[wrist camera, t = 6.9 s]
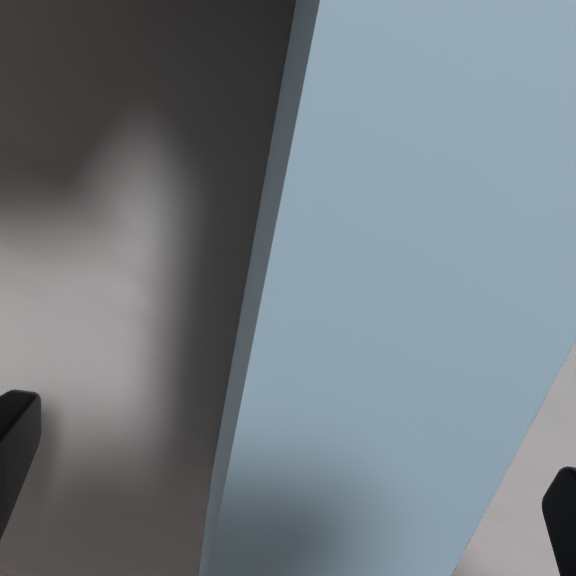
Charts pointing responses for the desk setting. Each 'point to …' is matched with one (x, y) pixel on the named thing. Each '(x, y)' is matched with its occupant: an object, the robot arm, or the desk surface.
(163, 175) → the desk surface
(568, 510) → the robot arm
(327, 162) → the light blue rectangular block
